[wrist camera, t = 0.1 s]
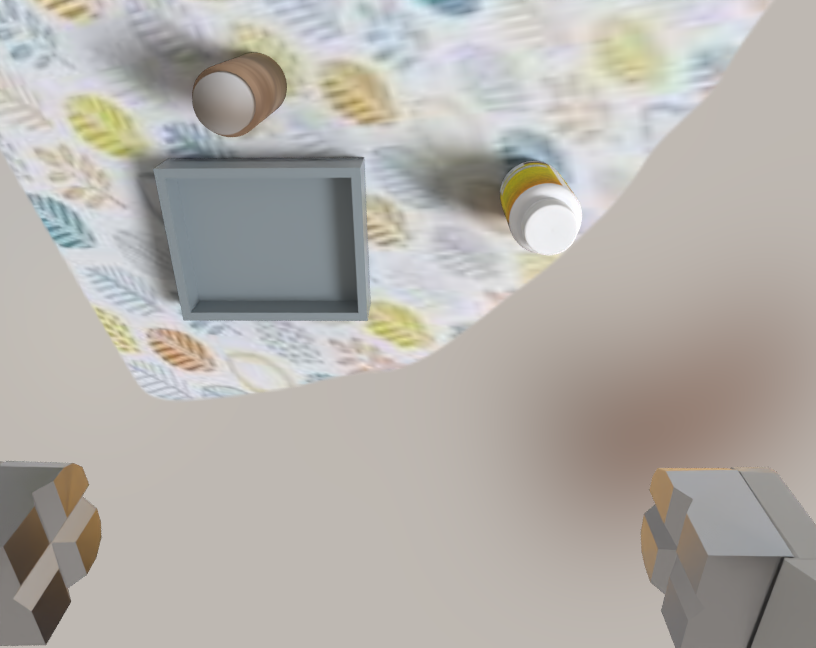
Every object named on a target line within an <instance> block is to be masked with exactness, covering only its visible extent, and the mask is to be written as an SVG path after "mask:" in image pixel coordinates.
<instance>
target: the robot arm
mask: <svg viewBox="0 0 816 648" xmlns="http://www.w3.org/2000/svg"><path fill="white" fill-rule="evenodd" d="M88 486H89V483H88V480H87V478H86V475H85V472H84V470H83V467H81V466H79V465H77V464H74V463H57V462H24V461H6V462H1V461H0V646H9V645H10V646H18V645H46V644H47V642H48V640H49V639H50V637H51V636H52V634H53V632H54V630H55V629H56V627H57V625H58V624H59V622H60V620H61V619H62V617H63V615H64V613H65V612H66V610H67V608H68V606H69V605H70V603H71V599H70V595H69V590H68V588H69V587H70V586H72V585H73V584H75V583H76V582H77V581H79V580H80V579H82V578H83V577H85V576H86V575H87V574H88V572H89V570H90V568H91V566H92V564H93V563H94V561H95V559H96V557H97V553H98V549H99V545H100V541H101V520H100V517H99V514H98V510H97V508H96V507H95V506H94V505H92V504H91V503H90V502H89V501H88V500H86V499H85V498H84V497H83V494H84V493H85V491H86V489H87V488H88ZM649 490H650V493H651V495H652V497H653V500H654V502H655V505H654V506H653V507H652V508H650V509H649V510H648V511H647V512H646V513H645V514H644V517H643V522H642V528H641V549H642V555H643V560H644V565H645V568H646V571H647V574H648V577H649V580H650V582H651V583H652V584H653V585H654V586H655V587H657V588H658V589H659V590H660V591H661V592H663V593H664V594H665V597H664V601H663V605H662V609H661V612H662V614H663V616H664V619H665V622H666V625H667V627H668V629H669V632H670V635H671V638H672V640H673V643H674V645H675V648H816V524H815V523H814V522H813V520H812V519H811V518H810V516H809V515H808V513H807V512H806V511H805V510H804V508H803V507H802V505H801V504H800V503H799V501H798V500H797V499H796V497H795V496H794V494H793V493H792V492H791V490H790V489H789V488H788V486H787V485H786V484H785V482H784V481H783V480H782V478H781V477H780V475H779V474H778V473H777V472H776V471H774V470H773V469H771V468H769V467H732V468H730V469H728V468H657V470H656V471H655V473H654V474H653V477H652V480H651V485H650V489H649Z"/></svg>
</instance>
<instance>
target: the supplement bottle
mask: <svg viewBox="0 0 816 648" xmlns="http://www.w3.org/2000/svg"><path fill="white" fill-rule="evenodd" d="M500 201H501V205H502V208H503V211H504V214H505V217H506V219H507V222H508V225H509V228H510V231H511V233H512V235H513V237H514V239H515V240H516V241H517V243H518V244H519V245H520V246H522V247H523V248H525V249H526V250H528V251H531V252H535V253H539V254H542V255H555V254H558V253H561V252H563V251H564V250H566V249H567V248H568V247H570V246H571V244H572V243H573V242H574V240H575V238H576V236H577V233H578V231H579V229H580V226H581V221H582V210H581V206H580V203H579V201H578V199H577V198H576V196H575V195H574V193H573V192H572V190H571V189H570V188H569V186H568V185H567V183H566V182H565V181H564V179H563V178H562V177H561V175H560V174H559V173H558V171H557V170H556V169H555V168H553V167H552V166H551V165H549V164H547V163H544V162H540V161H528V162H524V163H521V164H519V165H517V166H516V167H514V168H513V169H512V170H510V172H509V173H508V174H507V175H506V176H505V178H504V180H503V182H502V185H501V188H500Z"/></svg>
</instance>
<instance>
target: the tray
mask: <svg viewBox="0 0 816 648" xmlns="http://www.w3.org/2000/svg"><path fill="white" fill-rule="evenodd" d="M153 170H154V175H155V180H156V185H157V190H158V195H159V200H160V205H161V210H162V215H163V220H164V225H165V230H166V235H167V240H168V245H169V250H170V255H171V260H172V265H173V270H174V275H175V280H176V285H177V290H178V295H179V300H180V305H181V310H182V315H183V320H244V321H368V315H369V310H370V304H371V303H370V280H369V257H368V234H367V211H366V188H365V165H364V158H195V159H167V160H166V161H164V162H163V163H161V164H160V165H158V166H157V167H155V168H154V169H153Z"/></svg>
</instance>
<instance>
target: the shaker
mask: <svg viewBox="0 0 816 648" xmlns="http://www.w3.org/2000/svg"><path fill="white" fill-rule="evenodd" d="M286 91H287V83H286V78H285V75H284V73H283V71H282V69H281V68H280V66H279V65H278V64H277V63H276V62H275V61H274V60H273V59H272V58H270V57H269V56H267V55H264V54H261V53H248V54H244V55H242V56H239V57H236V58H233V59H231V60H228V61H225V62H223V63H220V64H217V65H214V66H212V67H209V68H207V69H206V70H204V71H203V72H202V73H201V74H200V75H199V76H198V78H197V79H196V81H195V83H194V87H193V92H192V102H193V108H194V111H195V114H196V116H197V117H198V119H199V121H200V122H201V123H202V124H203V125H204V126H205V127H206V128H208V129H209V130H211V131H213V132H214V133H216V134H218V135H221V136H226V137H238V136H241V135H244V134H246V133H248V132H249V131H250V130H252V129H253V128H254V127H255V126H257V125H258V124H259V123H260V122H262V121H263V120H264V119H265V118H267V117H268V116H269V115H270V114H272V113H273V112H274V111H275V110H276V109H278V108H279V107H280V106H281V104H282V103H283V101H284V99H285V96H286Z"/></svg>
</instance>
